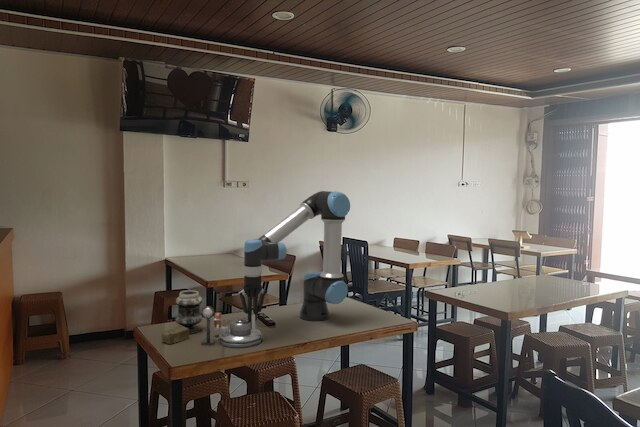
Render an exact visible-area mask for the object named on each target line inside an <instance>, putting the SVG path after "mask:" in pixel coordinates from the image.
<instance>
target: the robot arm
mask: <svg viewBox="0 0 640 427" xmlns="http://www.w3.org/2000/svg"><path fill="white" fill-rule="evenodd" d="M350 211H351V202H350V199H349V197H348V196H347V195H346V194H345V193H343V192H339V191H328V190H327V191H325V190H321V191H318V192H314V194H312V195H310V196H309V197H307V198H306V199H305V200H303V201H302V202H300V204H299V207H297V208H296V209H295V210H294V211H292V212H291V213H290V214H288V215H287V216H286V217H285V218H283V219H282V220H280V221H279V222H278V223H277V224H276V225H274V226H273V227H272V228H270V229H269V230H268V231H267V232H264V234H263V235H262V236H260V237H259V238H254V239H247V240H245V242H244V245H243V246H244V248H243V254H244V255H243V256H244V257H243V259H244V261H243V264H244V266H243V267H244V268H243V273H244V274H243V275H244V276H243V288H242V290H241V291H237V294H238V296H239V298H240V302H241V307H242V310H243V313H244V314H246V315H247V320H248V321H249V322H251V329H256V322H257V320H258V314H259V313H260V312H262V309H263V305H264V301H265V296H266V294H267V293H268V291H267V289H265V288H263V286H262V270H263V269H262V264H263V263H262V262H264V261H265V262H266V261H279V260H284V259H285V258H286V256H287V255H288V254H287V253H288V250H287V247H286V245H285V244H284V242H281V241H283V240H284V239H285V238H287V237H288V236H289V235H290V234H292V233H293V232H294V231H296V230H297V229H298V228H299V227H301V226H302V225H303V224H304V223H306V222H307V221H308V220H313V219H314V218H315V217H318V216H320V219H321V221H322V222H323V256H322V258H323V259H322V271H315V272H314V271H312V272H306V273H305V274H304V276H303V280H302V281H303V303H302V305H301V308H300V311H299V318H300V319H302V320H305V321H310V322H314V321H316V322H319V321H325V320H328V319H330V310H329V308H328V304H332V305H338V304H340V303H342V302H344V300H345V299H346V298H347V296H348V293H349V289H348V288H349V287H348V285H347V284H346V282H344V274H343V273H342V272H341V271H342V270H341V269H342V268H341V266H342V263H341V262H342V260H341V259H342V233H343V232H342V230H343V227H342V226H343V225H342V224H343V222H345V221H346V216H347V215H348V214H349V212H350ZM245 295H246V298H247V302H246V298H245ZM327 303H328V304H327Z"/></svg>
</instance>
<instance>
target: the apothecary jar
mask: <svg viewBox="0 0 640 427" xmlns="http://www.w3.org/2000/svg"><path fill="white" fill-rule="evenodd" d="M202 302H203V298H202V297H201V296H200V294H199V291H197V290H190V289H189V290H188V289H187V290H182V291H180V292H179V295H178V297H177V298H175V304H176V305H177V306H178V307H177V308H178V311H177V315H176V316H175V319H174V320H175V323H177V325H179V326H182V327H186V328H188V329H189V335H191V334H195V333H199V332H200V330H201V329H200V327H199V326H198V327H197V325H199V324H200V323H201V322H202V320H203V316H202V313H200V311H201V310H200V309H201V308H200V305H201V304H202Z"/></svg>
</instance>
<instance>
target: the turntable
mask: <svg viewBox="0 0 640 427" xmlns="http://www.w3.org/2000/svg"><path fill="white" fill-rule="evenodd" d="M213 316H214V317H213V319H221V320H213V323H214V324H213V327H212V331H217V332H220V333H219V334H218V337H219V338H220V340H222V341H224V342H228V343H248V342H253V341H256V340H258V339H260V338H261V335H262V332H261V331H260V330H259V329H257V328H255V329H251V334H250V335H248V336H242V337H237V336H232V335H230V326H223V325H222V312H214V315H213Z"/></svg>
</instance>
